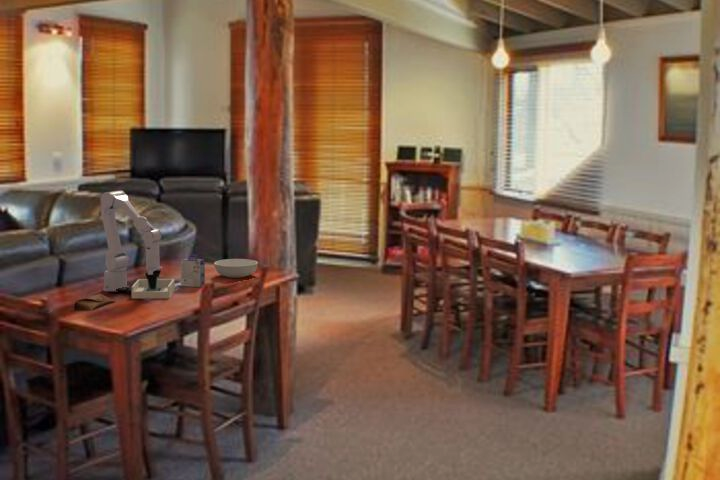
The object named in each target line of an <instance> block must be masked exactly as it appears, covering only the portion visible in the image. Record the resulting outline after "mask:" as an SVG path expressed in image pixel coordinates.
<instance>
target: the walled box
mask: <svg viewBox="0 0 720 480" xmlns="http://www.w3.org/2000/svg"><path fill="white" fill-rule="evenodd" d="M158 282H159V290H158V291H147V289H148V279H147V278H138V279H137V280H136V281H135V282H133V285H132V286H131V299H170V298H171V297H172V296H173V294H174V292H175V291H176V285H175V284H176V283H175V282H176V280H175V278H158Z"/></svg>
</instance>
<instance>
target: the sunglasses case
mask: <svg viewBox="0 0 720 480" xmlns="http://www.w3.org/2000/svg"><path fill="white" fill-rule="evenodd" d="M113 303H116V300H113V299H111V298H110V297H108V296H105V294H102V292H99V293H97V294H93V295H91V296H88V297H85V298H82V299H81V298H80V299H79V300H77V301H76V302H75V303H74V305H73V308H74V310H76V311H86V312H87V311H88V312H89V311H90V312H94V310H97V309H99V308H102V307H104V306H107V305H110V304H113Z"/></svg>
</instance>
